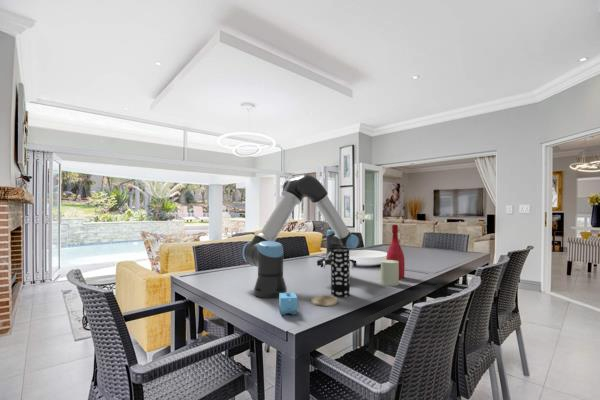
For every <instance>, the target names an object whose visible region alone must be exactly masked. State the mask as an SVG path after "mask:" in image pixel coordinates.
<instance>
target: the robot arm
mask: <svg viewBox="0 0 600 400" xmlns="http://www.w3.org/2000/svg"><path fill="white" fill-rule="evenodd" d="M281 191H282V192H281V198H280V200H279V202H277V205H276V206H275V208H274V210H273V211H272V213H271V215H270V216H269V218H268V220H267V221H266V222H265V224H264V225H263V227H262V229H261V230H260V233H258V234H255V235H254V237H253V238H252V240H250V241H248V242H246V243H245V245H244V246H243V248H242V257H243V260H244V261H245V263H247V264H248V265H250V266H252V267H253V266H254V267H256V268H257V278H256V282H255V284H254V285H255V286H254V287H253V295H254V296H256V297H258V298H263V299H275V298H279V293H286V292H288V288H287V285H286V282H285V281H286V280H285V278H284V247H283V244H282V243H281V242H277V241H276V240H277V238H278V236H279V235H280V232H281V231H282V230H283V228H284V226H285V224H286V222H287V221H288V219H289V218H290V216H291V214H292V212H293V211H294V209H295V207H296V206H297V205H300V204H301V203H302V201H303V200H304V198H307V199H309V200H310V202H311V203H312V204H315V205H316V207H317V209H318V210H319V212H320V214H321V215H322V216H323V218H324V219H325V221H326V222H327V224H328V225H329V227H330V228H331V229H327V230H326V237H325V238H326V254H325V257H323V258H321V259H318V260H316V265H317V267H319V266H320V268H323V270H325V269H326V266H331V250H333V249H340V248H344V249H345V248H346V249H356V248H357V247H358V245H359V241H360V240H359V237H358V236H357V235H355V234H352V233H351V231H350V230H349V228H348V227H347V225H346V223H345V222H344V220H343V219H342V218H341V215H340V214H339V211H337V209H336V207H335V205H334V204H333V203H332V201H331V200H330V198H329V197H328V196H329V195H328V191H327V190H326V188H325V187H324V185H323V184H322V183H321V182H320V181H319V179H317V178H316V177H315V176H313V175H310V174H302V175H298V176H297V175H296V176H291V177H288V178H287V179H286V180H285V181H284V182H283V185H282V190H281ZM354 267H357V260H354V259H350V258H349V269H351V270H354Z"/></svg>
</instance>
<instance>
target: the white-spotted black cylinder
mask: <svg viewBox="0 0 600 400" xmlns="http://www.w3.org/2000/svg"><path fill="white" fill-rule="evenodd" d="M349 259H350V250H349V249H345V248H344V249H343V248H339V249H333V250H331V265H330V279H331V280H330V288H331V289H330V296H333V297H336V298H347V297H349V296H351V291H350V290H351V289H350V283H351V282H350V279H351V278H350V275H351V273H350V266H349Z"/></svg>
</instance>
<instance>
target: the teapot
mask: <svg viewBox="0 0 600 400" xmlns="http://www.w3.org/2000/svg"><path fill="white" fill-rule="evenodd" d="M278 303H279V306H278V307H279V312H280V314H281V315H282V316H285V315H286V314H287V315H288V314H291V315H294V316H295V315H296V314H298V296H297V294H296V292H290V291H287V292H286V293H279V297H278Z"/></svg>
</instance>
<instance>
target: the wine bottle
mask: <svg viewBox="0 0 600 400" xmlns="http://www.w3.org/2000/svg"><path fill="white" fill-rule="evenodd" d="M391 233H392V238H391V244H390V245H389V248H388V249H387V253H386V258H385V260H395V261H398V262H399V280H402V279H404V278H405V268H406V267H405V256H404V251H403V248H402V247H401V244H400V242H399V234H398V233H399V226H398V225H397V224H392V225H391Z"/></svg>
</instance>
